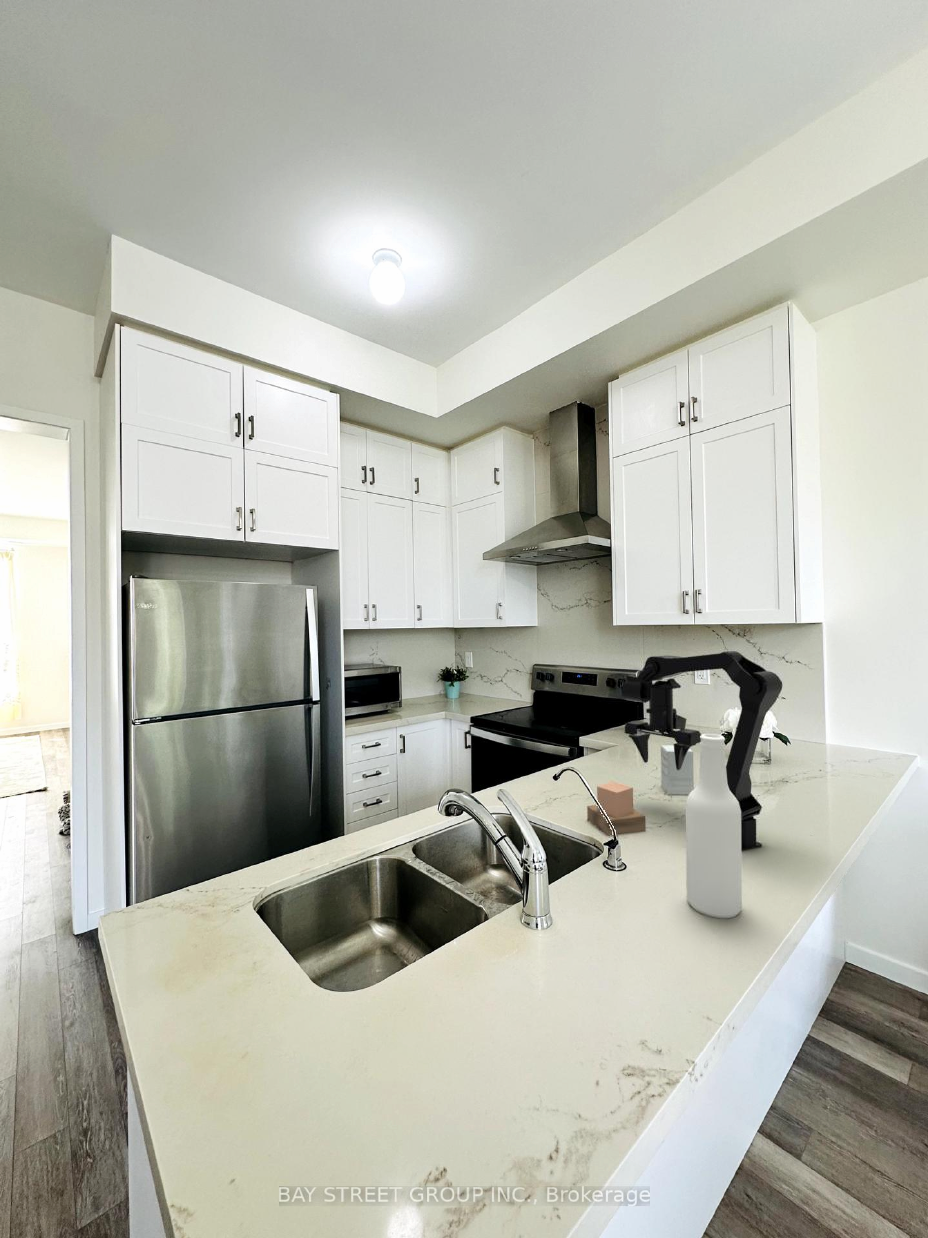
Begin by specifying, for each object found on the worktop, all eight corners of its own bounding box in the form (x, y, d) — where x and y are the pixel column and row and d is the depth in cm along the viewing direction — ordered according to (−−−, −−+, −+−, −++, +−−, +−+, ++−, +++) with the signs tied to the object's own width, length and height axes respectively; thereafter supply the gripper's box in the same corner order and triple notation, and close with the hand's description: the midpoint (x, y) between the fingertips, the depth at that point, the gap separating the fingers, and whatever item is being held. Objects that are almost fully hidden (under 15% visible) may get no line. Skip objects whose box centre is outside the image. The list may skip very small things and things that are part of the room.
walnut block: (645, 833, 126) (645, 816, 126) (607, 837, 124) (607, 820, 124) (622, 817, 136) (622, 802, 136) (587, 821, 133) (587, 806, 133)
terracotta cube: (633, 812, 128) (633, 787, 128) (617, 818, 125) (617, 792, 125) (613, 805, 133) (612, 781, 133) (597, 810, 130) (597, 786, 130)
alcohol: (739, 926, 87) (738, 744, 87) (682, 911, 92) (681, 738, 92) (743, 901, 95) (742, 733, 95) (690, 888, 99) (689, 728, 99)
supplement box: (686, 787, 158) (685, 744, 158) (694, 795, 151) (693, 751, 151) (660, 786, 159) (660, 744, 159) (667, 795, 152) (667, 750, 152)
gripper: (712, 705, 133) (713, 768, 133) (647, 697, 148) (648, 754, 148) (688, 710, 126) (689, 776, 126) (622, 702, 141) (623, 760, 141)
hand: (661, 766), depth 135 cm, fingers open, 9 cm apart
